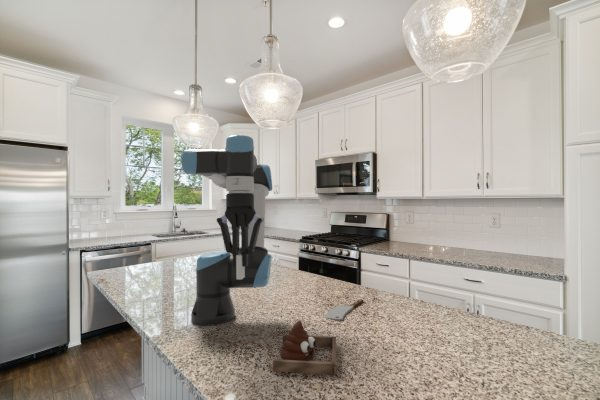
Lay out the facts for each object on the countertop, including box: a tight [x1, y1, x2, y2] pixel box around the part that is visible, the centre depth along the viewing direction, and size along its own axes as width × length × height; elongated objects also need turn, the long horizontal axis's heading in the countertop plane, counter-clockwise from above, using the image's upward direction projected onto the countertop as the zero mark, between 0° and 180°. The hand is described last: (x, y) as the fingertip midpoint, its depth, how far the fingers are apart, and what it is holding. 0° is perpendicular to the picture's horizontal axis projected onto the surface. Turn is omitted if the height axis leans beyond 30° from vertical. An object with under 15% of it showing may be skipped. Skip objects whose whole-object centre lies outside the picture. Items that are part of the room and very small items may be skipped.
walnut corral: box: [272, 333, 338, 376], centre depth 78 cm, size 16×15×2 cm
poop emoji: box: [280, 319, 316, 361], centre depth 79 cm, size 10×8×9 cm
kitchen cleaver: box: [322, 299, 364, 322], centre depth 114 cm, size 24×1×10 cm
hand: (240, 278), depth 81 cm, fingers closed
